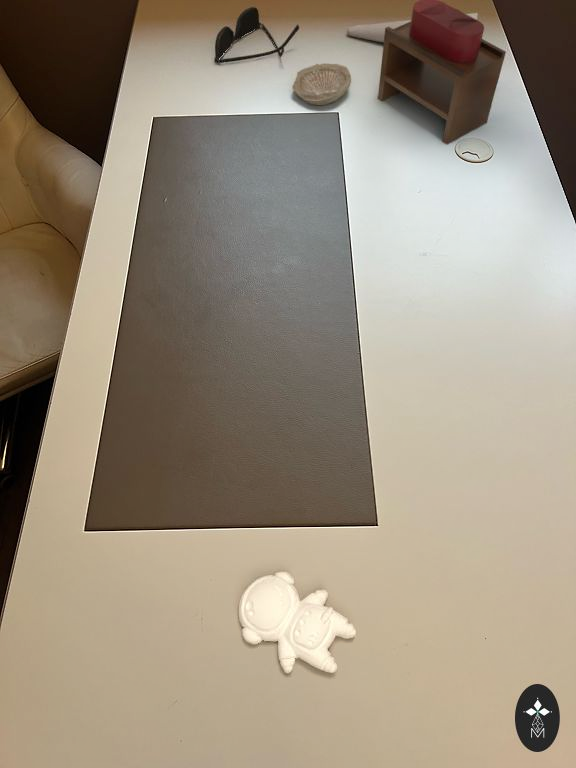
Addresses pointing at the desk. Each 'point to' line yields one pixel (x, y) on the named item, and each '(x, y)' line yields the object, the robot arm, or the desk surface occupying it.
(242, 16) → the sunglasses
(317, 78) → the fossil
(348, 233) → the desk surface
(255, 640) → the astronaut figurine
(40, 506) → the desk surface
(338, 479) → the desk surface
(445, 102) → the rack
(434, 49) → the red rounded block
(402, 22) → the pale tapered cone
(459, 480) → the desk surface
